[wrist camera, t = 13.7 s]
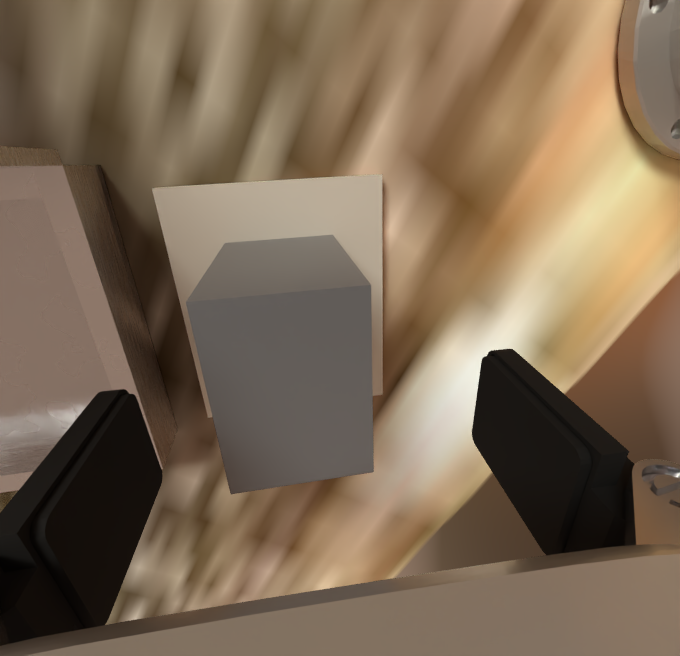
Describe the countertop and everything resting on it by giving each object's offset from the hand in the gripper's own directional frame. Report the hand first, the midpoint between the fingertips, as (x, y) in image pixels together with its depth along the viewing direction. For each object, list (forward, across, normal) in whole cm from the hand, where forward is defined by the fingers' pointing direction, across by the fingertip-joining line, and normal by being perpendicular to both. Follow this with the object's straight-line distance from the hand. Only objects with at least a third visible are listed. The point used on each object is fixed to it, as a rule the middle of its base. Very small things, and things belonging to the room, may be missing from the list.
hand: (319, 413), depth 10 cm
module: (+9, +1, +1) cm, 9 cm away
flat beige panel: (+10, +1, +1) cm, 10 cm away
